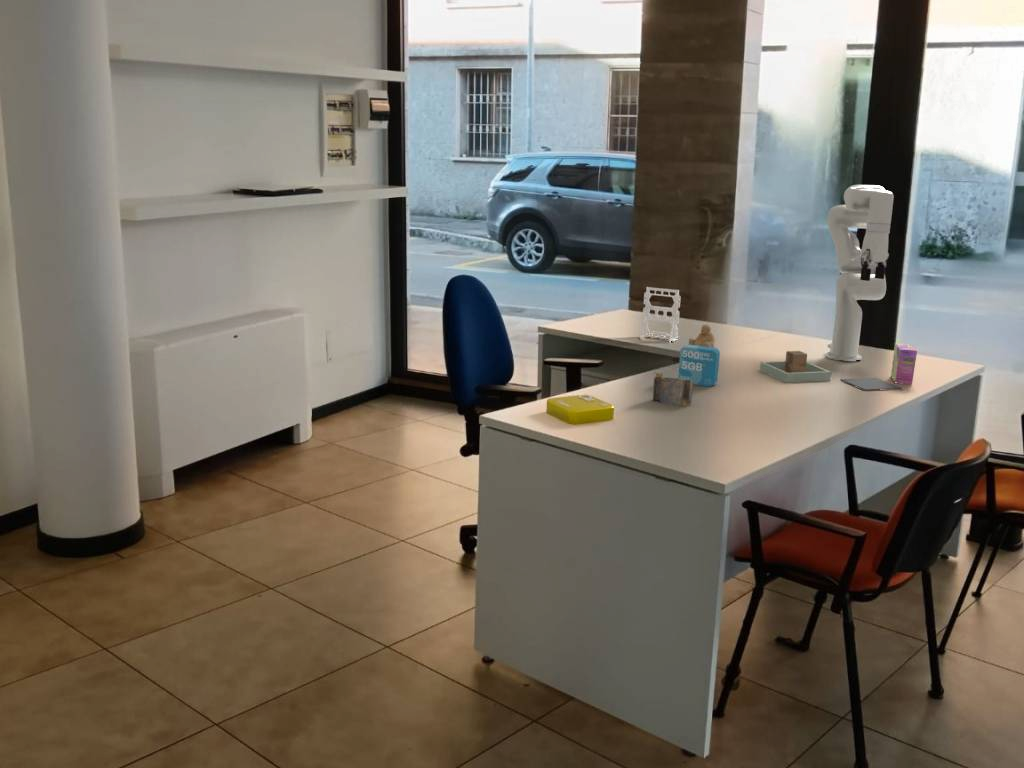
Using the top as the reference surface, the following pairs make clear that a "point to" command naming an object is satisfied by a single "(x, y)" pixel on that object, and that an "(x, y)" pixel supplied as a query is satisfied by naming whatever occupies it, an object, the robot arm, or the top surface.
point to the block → (795, 361)
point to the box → (903, 363)
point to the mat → (870, 383)
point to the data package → (699, 364)
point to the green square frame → (810, 375)
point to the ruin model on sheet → (672, 390)
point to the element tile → (580, 409)
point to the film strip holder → (665, 309)
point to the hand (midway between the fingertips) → (872, 279)
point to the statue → (704, 338)
